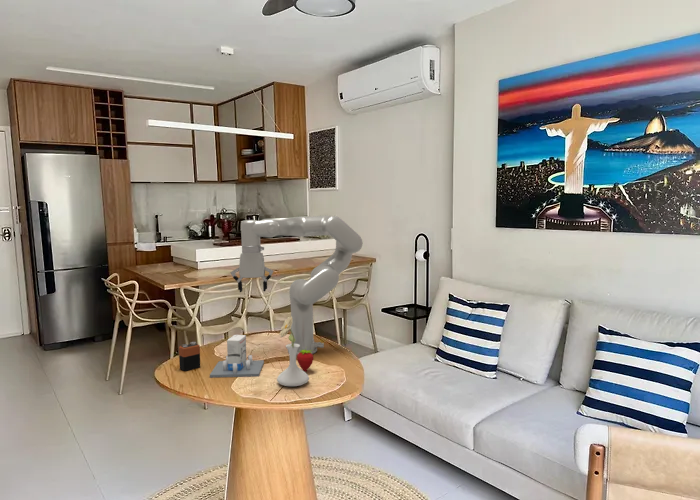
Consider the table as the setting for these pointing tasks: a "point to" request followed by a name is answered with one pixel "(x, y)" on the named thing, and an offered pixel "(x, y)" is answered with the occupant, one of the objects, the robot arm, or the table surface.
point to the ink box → (236, 351)
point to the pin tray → (248, 370)
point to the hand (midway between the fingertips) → (252, 291)
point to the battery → (189, 356)
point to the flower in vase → (291, 361)
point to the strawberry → (305, 359)
